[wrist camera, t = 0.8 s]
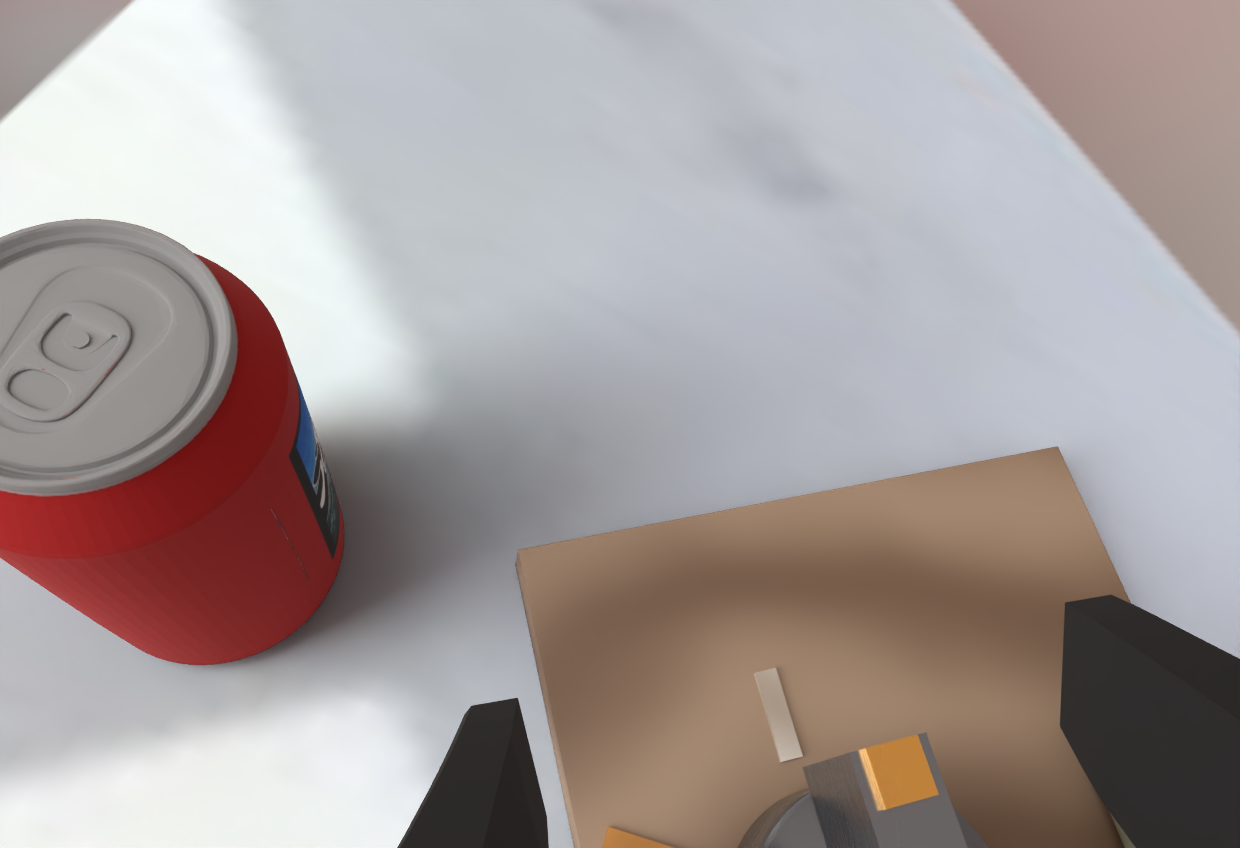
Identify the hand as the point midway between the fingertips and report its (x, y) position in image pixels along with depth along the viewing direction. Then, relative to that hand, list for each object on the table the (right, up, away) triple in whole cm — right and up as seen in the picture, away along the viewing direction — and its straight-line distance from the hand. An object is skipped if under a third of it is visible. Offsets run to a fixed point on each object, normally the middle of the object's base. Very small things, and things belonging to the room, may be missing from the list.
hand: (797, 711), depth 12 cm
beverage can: (-14, 0, +15) cm, 20 cm away
